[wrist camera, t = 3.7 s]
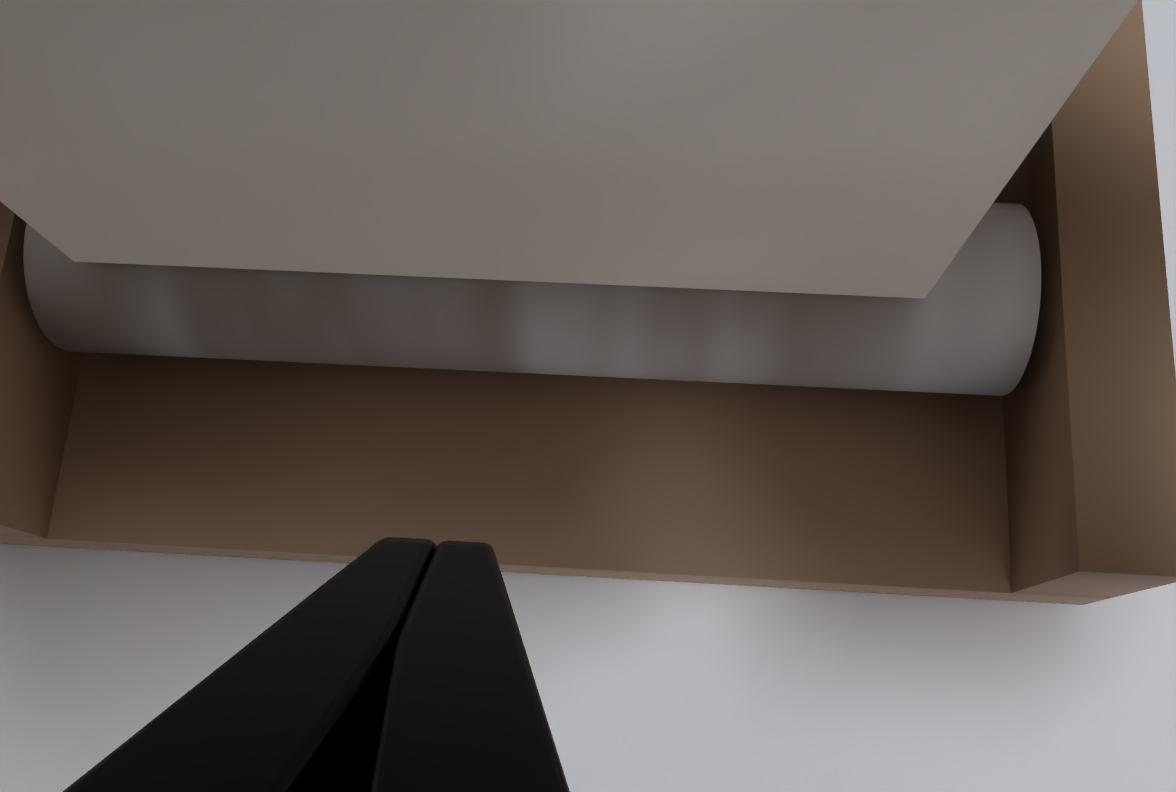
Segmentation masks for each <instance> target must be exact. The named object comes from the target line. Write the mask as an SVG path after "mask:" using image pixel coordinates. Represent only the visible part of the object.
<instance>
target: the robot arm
mask: <svg viewBox="0 0 1176 792" xmlns="http://www.w3.org/2000/svg"><path fill="white" fill-rule="evenodd" d="M63 792H570V791H569V788H568V785H567V782H566V778H565V775H564V772H563V769H562V766H561V762H560V759H559V756H558V753H557V750H556V747H555V743H554V740H553V737H552V734H551V731H550V727H549V724H548V721H547V718H546V715H545V711H544V708H543V705H542V702H541V699H540V696H539V692H538V689H537V686H536V683H535V680H534V676H533V673H532V670H531V667H530V664H529V660H528V657H527V654H526V651H525V648H524V645H523V641H522V638H521V635H520V632H519V629H518V625H517V622H516V619H515V616H514V613H513V609H512V606H511V603H510V600H509V597H508V594H507V590H506V587H505V584H504V581H503V578H502V574H501V571H500V568H499V565H498V562H497V558H496V555H495V552H494V549H493V548H492V546H491V545H489V544H488V543H484V542H467V541H450V540H448V541H443V542H441V543H439V544H438V546H436V544H435V543H434V542H433V541H432V540H429V539H416V538H400V537H386V538H383V539H381V540H379V541H378V542H376V543H375V544H374V545H372V546H371V547H370V548H369V549H367V550H366V551H365V552H364V553H362V554H361V555H360V556H359V557H357V558H356V559H355V560H354V561H352V562H351V563H350V564H349V565H347V566H346V567H345V568H344V569H342V570H341V571H340V572H338V573H337V574H336V575H335V576H333V577H332V578H331V579H330V580H328V581H327V582H326V583H325V584H323V585H322V586H321V587H320V588H318V589H317V590H316V591H315V592H313V593H312V594H311V595H310V596H308V597H307V598H306V599H305V600H303V601H302V602H301V603H299V604H298V605H297V606H296V607H294V608H293V609H292V610H291V611H289V612H288V613H287V614H286V615H284V616H283V617H282V618H281V619H279V620H278V621H277V622H276V623H274V624H273V625H272V626H271V627H269V628H268V629H267V630H265V631H264V632H263V633H262V634H260V635H259V636H258V637H257V638H255V639H254V640H253V641H252V642H250V643H249V644H248V645H247V646H245V647H244V648H243V649H242V650H240V651H239V652H238V653H237V654H235V655H234V656H233V657H232V658H230V659H229V660H228V661H226V662H225V663H224V664H223V665H221V666H220V667H219V668H218V669H216V670H215V671H214V672H213V673H211V674H210V675H209V676H208V677H206V678H205V679H204V680H203V681H201V682H200V683H199V684H198V685H196V686H195V687H194V688H192V689H191V690H190V691H189V692H187V693H186V694H185V695H184V696H182V697H181V698H180V699H179V700H177V701H176V702H175V703H174V704H172V705H171V706H170V707H169V708H167V709H166V710H165V711H164V712H162V713H161V714H160V715H159V716H157V717H156V718H155V719H153V720H152V721H151V722H150V723H148V724H147V725H146V726H145V727H143V728H142V729H141V730H140V731H138V732H137V733H136V734H135V735H133V736H132V737H131V738H130V739H128V740H127V741H126V742H125V743H123V744H122V745H121V746H119V747H118V748H117V749H116V750H114V751H113V752H112V753H111V754H109V755H108V756H107V757H106V758H104V759H103V760H102V761H101V762H99V763H98V764H97V765H96V766H94V767H93V768H92V769H91V770H89V771H88V772H87V773H86V774H84V775H83V776H82V777H80V778H79V779H78V780H77V781H75V782H74V783H73V784H72V785H70V786H69V787H68V788H67V789H65V790H64V791H63Z"/></svg>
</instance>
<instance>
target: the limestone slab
mask: <svg viewBox="0 0 1176 792" xmlns="http://www.w3.org/2000/svg"><path fill="white" fill-rule="evenodd" d="M1136 2H1137V0H0V201H1V202H2V203H3V204H4V205H5V206H7V207H8V208H9V209H10V210H12V211H13V212H14V213H15V214H16V215H18V216H19V217H20V218H21V219H23V220H24V221H25V222H26V223H27V224H29V225H30V226H31V227H32V228H34V229H35V230H36V231H37V232H38V233H40V234H41V235H42V236H43V237H44V238H46V239H47V240H48V241H49V242H51V243H52V244H53V245H54V246H55V247H57V248H58V249H59V250H60V251H62V252H63V253H64V254H65V255H66V256H68V257H69V258H70V259H71V260H73V261H74V262H96V263H119V264H142V265H165V266H188V267H211V268H234V269H257V270H280V271H303V272H326V273H348V274H371V275H394V276H417V277H440V278H463V279H486V280H509V281H532V282H555V283H578V284H601V285H624V286H647V287H670V288H693V289H716V290H739V291H762V292H785V293H808V294H831V295H854V296H877V297H900V298H923V299H925V298H926V296H927V295H928V293H929V292H930V291H931V289H932V288H933V286H934V285H935V284H936V282H937V281H938V279H939V278H940V277H941V275H942V274H943V272H944V271H945V270H946V268H947V267H948V265H949V264H950V263H951V261H952V260H953V258H954V257H955V256H956V254H957V253H958V251H959V250H960V249H961V247H962V246H963V244H964V243H965V242H966V240H967V239H968V237H969V236H970V234H971V233H972V232H973V230H974V229H975V227H976V226H977V225H978V223H979V222H980V220H981V219H982V218H983V216H984V215H985V213H986V212H987V211H988V209H989V208H990V206H991V205H992V204H993V202H994V201H995V199H996V198H997V197H998V195H999V194H1000V192H1001V191H1002V190H1003V188H1004V187H1005V185H1006V184H1007V183H1008V181H1009V180H1010V178H1011V177H1012V176H1013V174H1014V173H1015V171H1016V170H1017V169H1018V167H1019V166H1020V164H1021V163H1022V162H1023V160H1024V159H1025V157H1026V156H1027V155H1028V153H1029V152H1030V150H1031V149H1032V148H1033V146H1034V145H1035V143H1036V142H1037V141H1038V139H1039V138H1040V136H1041V135H1042V134H1043V132H1044V131H1045V129H1046V128H1047V127H1048V125H1049V124H1050V122H1051V121H1052V120H1053V118H1054V117H1055V115H1056V114H1057V113H1058V111H1059V110H1060V108H1061V107H1062V106H1063V104H1064V103H1065V101H1066V100H1067V99H1068V97H1069V96H1070V94H1071V93H1072V91H1073V90H1074V89H1075V87H1076V86H1077V84H1078V83H1079V82H1080V80H1081V79H1082V77H1083V76H1084V75H1085V73H1086V72H1087V70H1088V69H1089V68H1090V66H1091V65H1092V63H1093V62H1094V61H1095V59H1096V58H1097V56H1098V55H1099V54H1100V52H1101V51H1102V49H1103V48H1104V47H1105V45H1106V44H1107V42H1108V41H1109V40H1110V38H1111V37H1112V35H1113V34H1114V33H1115V31H1116V30H1117V28H1118V27H1119V26H1120V24H1121V23H1122V21H1123V20H1124V19H1125V17H1126V16H1127V14H1128V13H1129V12H1130V10H1131V9H1132V7H1133V6H1134V5H1135V3H1136Z"/></svg>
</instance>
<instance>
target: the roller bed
mask: <svg viewBox="0 0 1176 792" xmlns="http://www.w3.org/2000/svg"><path fill="white" fill-rule="evenodd" d="M386 537H400V538H416V539H429V540H432V541H433V542H434V543H435V544H436V546H438V544H439V543H441V542H443V541H448V540H450V541H467V542H484V543H488V544H489V545H491V546H492V548H493V549H494V552H495V555H496V558H497V562H498V565H499V568H500V571H501V572H515V573H533V574H551V575H568V576H586V577H604V578H621V579H639V580H657V581H674V582H692V583H710V584H727V585H745V586H763V587H780V588H798V589H815V590H833V591H851V592H868V593H886V594H904V595H921V596H939V597H957V598H974V599H992V600H1010V601H1027V602H1045V603H1063V604H1080V605H1084V604H1088V603H1092V602H1096V601H1100V600H1104V599H1108V598H1113V597H1117V596H1121V595H1125V594H1129V593H1133V592H1137V591H1141V590H1145V589H1149V588H1154V587H1158V586H1162V585H1166V584H1170V583H1174V582H1176V377H1175V366H1174V355H1173V344H1172V333H1171V322H1170V311H1169V300H1168V289H1167V278H1166V266H1165V255H1164V244H1163V233H1162V222H1161V211H1160V200H1159V189H1158V178H1157V167H1156V155H1155V144H1154V133H1153V122H1152V111H1151V100H1150V89H1149V78H1148V67H1147V56H1146V45H1145V33H1144V22H1143V11H1142V0H1137V2H1136V3H1135V5H1134V6H1133V7H1132V9H1131V10H1130V12H1129V13H1128V14H1127V16H1126V17H1125V19H1124V20H1123V21H1122V23H1121V24H1120V26H1119V27H1118V28H1117V30H1116V31H1115V33H1114V34H1113V35H1112V37H1111V38H1110V40H1109V41H1108V42H1107V44H1106V45H1105V47H1104V48H1103V49H1102V51H1101V52H1100V54H1099V55H1098V56H1097V58H1096V59H1095V61H1094V62H1093V63H1092V65H1091V66H1090V68H1089V69H1088V70H1087V72H1086V73H1085V75H1084V76H1083V77H1082V79H1081V80H1080V82H1079V83H1078V84H1077V86H1076V87H1075V89H1074V90H1073V91H1072V93H1071V94H1070V96H1069V97H1068V99H1067V100H1066V101H1065V103H1064V104H1063V106H1062V107H1061V108H1060V110H1059V111H1058V113H1057V114H1056V115H1055V117H1054V118H1053V120H1052V121H1051V122H1050V124H1049V125H1048V127H1047V128H1046V129H1045V131H1044V132H1043V134H1042V135H1041V136H1040V138H1039V139H1038V141H1037V142H1036V143H1035V145H1034V146H1033V148H1032V149H1031V150H1030V152H1029V153H1028V155H1027V156H1026V157H1025V159H1024V160H1023V162H1022V163H1021V164H1020V166H1019V167H1018V169H1017V170H1016V171H1015V173H1014V174H1013V176H1012V177H1011V178H1010V180H1009V181H1008V183H1007V184H1006V185H1005V187H1004V188H1003V190H1002V191H1001V192H1000V194H999V195H998V197H997V198H996V199H995V201H994V202H993V204H992V205H991V206H990V208H989V209H988V211H987V212H986V213H985V215H984V216H983V218H982V219H981V220H980V222H979V223H978V225H977V226H976V227H975V229H974V230H973V232H972V233H971V234H970V236H969V237H968V239H967V240H966V242H965V243H964V244H963V246H962V247H961V249H960V250H959V251H958V253H957V254H956V256H955V257H954V258H953V260H952V261H951V263H950V264H949V265H948V267H947V268H946V270H945V271H944V272H943V274H942V275H941V277H940V278H939V279H938V281H937V282H936V284H935V285H934V286H933V288H932V289H931V291H930V292H929V293H928V295H927V296H926V298H925V299H923V298H900V297H877V296H854V295H831V294H808V293H785V292H762V291H739V290H716V289H693V288H670V287H647V286H624V285H601V284H578V283H555V282H532V281H509V280H486V279H463V278H440V277H417V276H394V275H371V274H348V273H326V272H303V271H280V270H257V269H234V268H211V267H188V266H165V265H142V264H119V263H96V262H74V261H73V260H71V259H70V258H69V257H68V256H66V255H65V254H64V253H63V252H62V251H60V250H59V249H58V248H57V247H55V246H54V245H53V244H52V243H51V242H49V241H48V240H47V239H46V238H44V237H43V236H42V235H41V234H40V233H38V232H37V231H36V230H35V229H34V228H32V227H31V226H30V225H29V224H27V223H26V222H25V221H24V220H23V219H21V218H20V217H19V216H18V215H16V214H15V213H14V212H13V211H12V210H10V209H9V208H8V207H7V206H5V205H4V204H3V203H2V202H1V201H0V543H4V544H21V545H39V546H57V547H74V548H92V549H109V550H127V551H145V552H162V553H180V554H198V555H215V556H233V557H251V558H268V559H286V560H304V561H321V562H339V563H351V562H352V561H354V560H355V559H356V558H357V557H359V556H360V555H361V554H362V553H364V552H365V551H366V550H367V549H369V548H370V547H371V546H372V545H374V544H375V543H376V542H378V541H379V540H381V539H383V538H386Z"/></svg>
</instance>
